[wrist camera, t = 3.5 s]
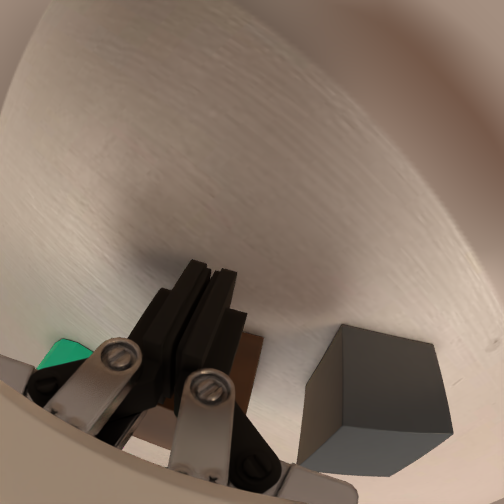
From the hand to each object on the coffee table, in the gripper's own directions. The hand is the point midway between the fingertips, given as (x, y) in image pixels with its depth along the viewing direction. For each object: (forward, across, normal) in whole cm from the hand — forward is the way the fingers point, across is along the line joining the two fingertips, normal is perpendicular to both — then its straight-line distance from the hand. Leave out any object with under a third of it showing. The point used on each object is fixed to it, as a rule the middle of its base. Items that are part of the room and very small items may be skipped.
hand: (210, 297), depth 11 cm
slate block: (+2, -8, +3) cm, 9 cm away
